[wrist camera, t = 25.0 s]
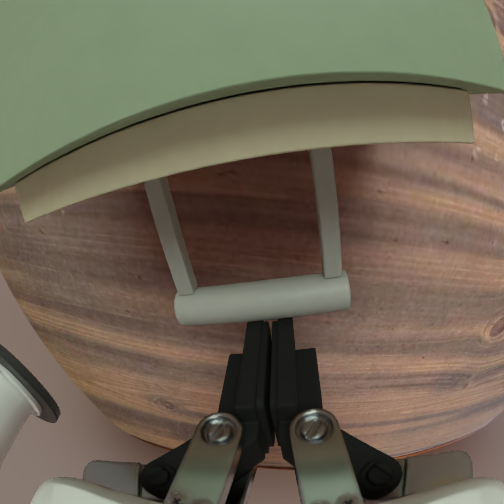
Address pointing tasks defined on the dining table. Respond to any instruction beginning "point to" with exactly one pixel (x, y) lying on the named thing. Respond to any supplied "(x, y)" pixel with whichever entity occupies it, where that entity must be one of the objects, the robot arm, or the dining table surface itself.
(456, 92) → the drawer
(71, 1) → the small drawer box
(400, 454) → the dining table surface
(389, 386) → the dining table surface
